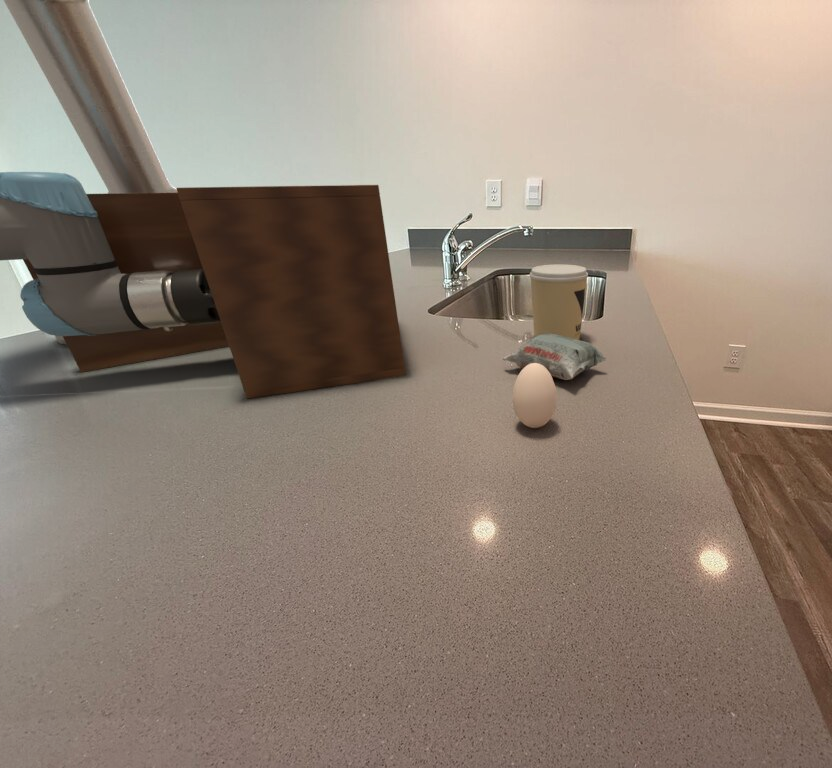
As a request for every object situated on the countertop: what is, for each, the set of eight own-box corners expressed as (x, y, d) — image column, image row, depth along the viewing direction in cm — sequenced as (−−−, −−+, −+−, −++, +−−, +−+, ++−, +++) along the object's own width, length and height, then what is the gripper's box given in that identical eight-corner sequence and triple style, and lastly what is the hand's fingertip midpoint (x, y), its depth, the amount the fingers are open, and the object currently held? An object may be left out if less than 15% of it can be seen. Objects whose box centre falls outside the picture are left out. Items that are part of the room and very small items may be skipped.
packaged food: (572, 394, 51) (573, 357, 49) (502, 371, 58) (501, 338, 56) (605, 373, 57) (608, 339, 55) (538, 354, 64) (539, 324, 62)
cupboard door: (90, 359, 66) (9, 195, 56) (273, 328, 79) (234, 192, 69) (81, 372, 61) (-11, 195, 51) (277, 337, 74) (236, 191, 64)
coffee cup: (588, 348, 66) (592, 273, 61) (530, 349, 66) (530, 274, 61) (580, 330, 75) (583, 263, 69) (529, 331, 75) (529, 264, 70)
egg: (528, 442, 42) (527, 376, 39) (505, 422, 45) (503, 361, 42) (564, 429, 44) (567, 366, 41) (540, 411, 47) (540, 352, 44)
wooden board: (246, 398, 52) (175, 187, 42) (281, 337, 75) (241, 190, 64) (406, 375, 58) (378, 184, 47) (393, 324, 80) (373, 188, 70)
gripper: (209, 311, 65) (363, 297, 72) (168, 341, 51) (363, 321, 58) (193, 262, 62) (355, 253, 68) (144, 281, 48) (354, 266, 55)
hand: (359, 284), depth 63 cm, fingers closed on salt shaker, 3 cm apart
